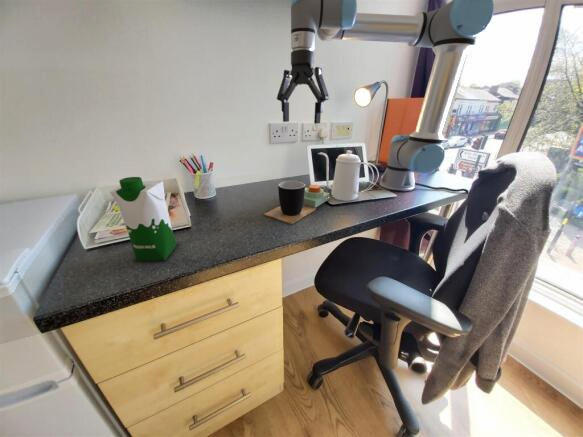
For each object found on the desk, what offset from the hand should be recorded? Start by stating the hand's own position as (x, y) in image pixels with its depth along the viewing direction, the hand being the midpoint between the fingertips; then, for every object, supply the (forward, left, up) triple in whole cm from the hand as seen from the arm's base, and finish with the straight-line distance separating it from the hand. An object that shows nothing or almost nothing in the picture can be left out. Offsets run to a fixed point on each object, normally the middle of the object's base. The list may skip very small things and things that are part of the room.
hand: (300, 122), depth 85 cm
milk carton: (+6, +55, -29) cm, 62 cm away
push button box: (-4, 0, -29) cm, 29 cm away
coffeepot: (-14, -12, -29) cm, 34 cm away
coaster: (-6, +14, -29) cm, 32 cm away
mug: (-6, +14, -28) cm, 32 cm away
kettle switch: (-7, 0, -25) cm, 26 cm away
